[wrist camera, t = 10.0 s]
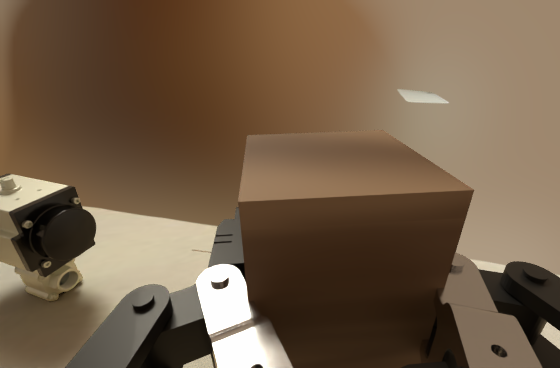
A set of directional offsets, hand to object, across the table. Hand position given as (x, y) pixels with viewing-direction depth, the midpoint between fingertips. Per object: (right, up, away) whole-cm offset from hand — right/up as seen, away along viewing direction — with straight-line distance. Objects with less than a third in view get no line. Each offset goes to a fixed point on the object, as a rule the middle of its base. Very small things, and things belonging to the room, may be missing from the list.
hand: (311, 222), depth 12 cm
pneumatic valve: (-24, -9, +16) cm, 30 cm away
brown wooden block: (0, -7, 0) cm, 7 cm away
